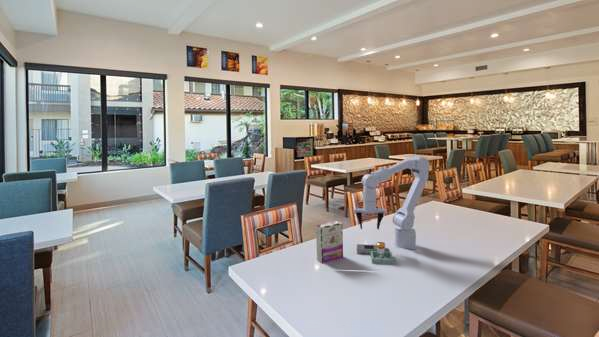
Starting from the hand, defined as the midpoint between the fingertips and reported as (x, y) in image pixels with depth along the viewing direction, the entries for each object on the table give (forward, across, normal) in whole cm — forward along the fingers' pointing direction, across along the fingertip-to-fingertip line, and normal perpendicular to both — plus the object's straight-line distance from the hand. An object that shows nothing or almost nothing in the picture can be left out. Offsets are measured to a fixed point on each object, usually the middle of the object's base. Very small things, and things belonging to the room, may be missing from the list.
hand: (369, 228), depth 152 cm
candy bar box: (+11, +18, +13) cm, 25 cm away
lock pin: (+10, -4, +12) cm, 16 cm away
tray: (+10, -4, +12) cm, 17 cm away
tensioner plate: (+10, -2, +4) cm, 11 cm away
